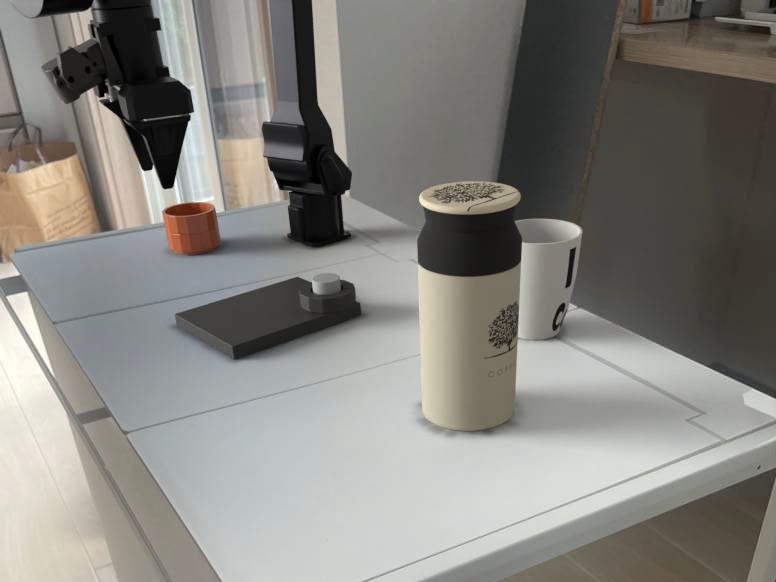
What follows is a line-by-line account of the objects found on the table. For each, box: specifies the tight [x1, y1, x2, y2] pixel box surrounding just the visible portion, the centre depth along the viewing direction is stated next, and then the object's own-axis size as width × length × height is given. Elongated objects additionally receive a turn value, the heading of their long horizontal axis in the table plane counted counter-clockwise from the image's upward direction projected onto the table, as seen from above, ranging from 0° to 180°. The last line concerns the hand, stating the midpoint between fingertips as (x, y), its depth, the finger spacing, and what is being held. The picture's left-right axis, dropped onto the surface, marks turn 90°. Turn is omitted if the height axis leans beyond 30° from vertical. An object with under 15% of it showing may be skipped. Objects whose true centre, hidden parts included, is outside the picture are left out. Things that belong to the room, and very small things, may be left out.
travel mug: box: [416, 180, 522, 432], centre depth 67 cm, size 8×8×18 cm
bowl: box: [161, 201, 222, 256], centre depth 111 cm, size 7×7×5 cm
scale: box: [174, 276, 362, 360], centre depth 90 cm, size 16×12×3 cm
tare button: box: [311, 272, 341, 295], centre depth 89 cm, size 3×3×2 cm
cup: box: [514, 218, 583, 341], centre depth 83 cm, size 8×8×10 cm
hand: (157, 179), depth 90 cm, fingers open, 9 cm apart
